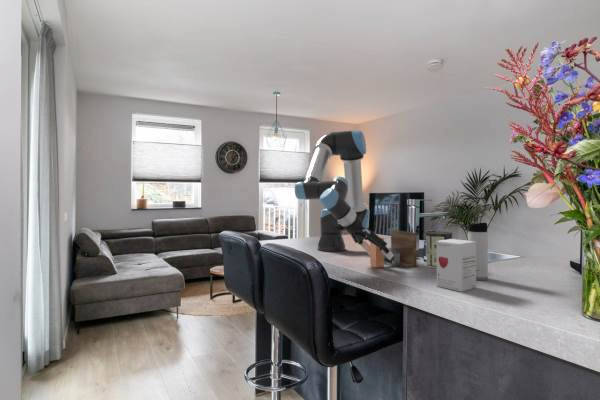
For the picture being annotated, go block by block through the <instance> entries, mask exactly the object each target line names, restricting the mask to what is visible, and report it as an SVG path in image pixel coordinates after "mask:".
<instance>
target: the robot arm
mask: <svg viewBox="0 0 600 400" xmlns="http://www.w3.org/2000/svg"><path fill="white" fill-rule="evenodd" d="M366 154H367V144H366V138H365V135H364V133H363V131H362V130H346V131H345V130H343V131H331V132H328V133H326V134H324V135H323V136H322V137H320V138H319V139H318V140H317V141H316V143H315V144H314V146H313V149H312V157H311V160H310V162H309V165H308V168H307V170H306V173H305V176H304V178H303V181H298V182H296V183H295V185H294V194H295V198H296V199H297V200H306V201H307V200H319V202H320V203H321V204H322V207H324V208H323V209H321V211H320V217H319V219H320V237H319V240H318V244H317V250H318V251H321V252H342V251H345V250H346V244H345V241H344V240H345V239H344V238H343V231H344V232H347V233H348V234H350V236H351V238H352V240H353V241H354V243H355V244H358V245H360V247H361V248H362V249H364V251H365V252H366V253H367V254H368V256H370V245H369V244H370V242H371V243H373V244H374V245H376V246H377V247H379V248H380V249H379V250H380V251H381V252H382V253H383V254H384V255H385V256H386V257H387V258H388V259H389V260H391V258H392V257H393V256H394V255H393V253H392V252H391V251H390V250H389V249H388V248H389V247H387V245H388V243H387V242H386V241H385V240H384V241H383V240H382V239H381V238H380V236H378V235H377V234H376V233H375V232H373V230H372V229H370V227H369V221H370V213H371V212H370V209H368V208H367V205H366V204H365V203H364V198H363V197H364V194H363V193H364V192H363V180H362V179H363V178H362V177H363V176H362V175H363V174H362V160H363V158H364V155H366ZM333 156H339V160H341V162H343V170H344V177H343V176H336V177H334V178H333V179H331V181H330V180H329V181H325V180H324V181H322V179H323V177H324V173H325V171H326V168H327V164H328V161H329V159H331V157H333ZM367 241H368V242H369V243H368V242H367Z"/></svg>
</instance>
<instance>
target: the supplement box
mask: <svg viewBox="0 0 600 400" xmlns="http://www.w3.org/2000/svg"><path fill="white" fill-rule="evenodd" d="M436 287H439V288H443V289H449V290H452V291H457V292H465V291H466V292H467V291H469V290H472V289H476V288H477V280H476V241H468V240H465V239H457V238H452V239H448V240H439V241H437V268H436Z"/></svg>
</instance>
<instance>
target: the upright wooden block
mask: <svg viewBox="0 0 600 400" xmlns="http://www.w3.org/2000/svg"><path fill="white" fill-rule="evenodd" d="M379 237H380V236H379ZM380 238H381V239H382V240H383V241H385V238H384V237H380ZM369 244H370V245H369V246H370V255H369V258H370V267H373V268H377V269H378V268H384V267H385V264H384V261H392V258H391V260H389V259H388V258H387V257H384V254H383V253H382V252H381V251H380V250H379V249H380V248H379V247H377V246H376V245H374V244H373V243H371V242H370V241H369ZM400 261H402V255H400Z"/></svg>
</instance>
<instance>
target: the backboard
mask: <svg viewBox="0 0 600 400" xmlns="http://www.w3.org/2000/svg"><path fill="white" fill-rule="evenodd" d="M390 243H391V244H390V248H394V249H399V250H400V255H402V261H400V267H403V268H406V269H407V268H410V269H411V268H417V267H418V264H417V262H418V261H417V260H418V259H417V256H418V255H417V232H412V231H403V230H398V229H397V230H396V229H394V230H393V229H391V231H390Z"/></svg>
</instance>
